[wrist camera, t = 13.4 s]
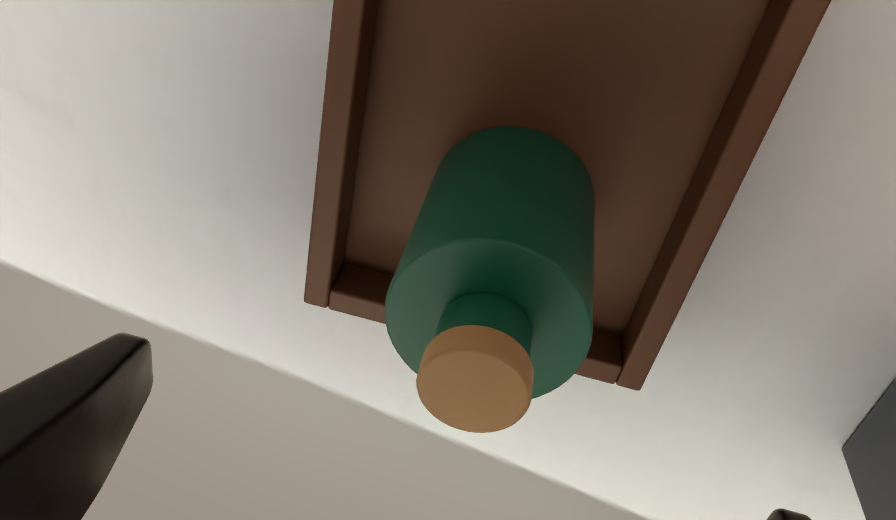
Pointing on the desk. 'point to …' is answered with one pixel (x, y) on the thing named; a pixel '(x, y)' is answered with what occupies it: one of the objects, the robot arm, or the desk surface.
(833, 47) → the desk surface
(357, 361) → the desk surface
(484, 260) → the green bottle
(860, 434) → the stand
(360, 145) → the tray
